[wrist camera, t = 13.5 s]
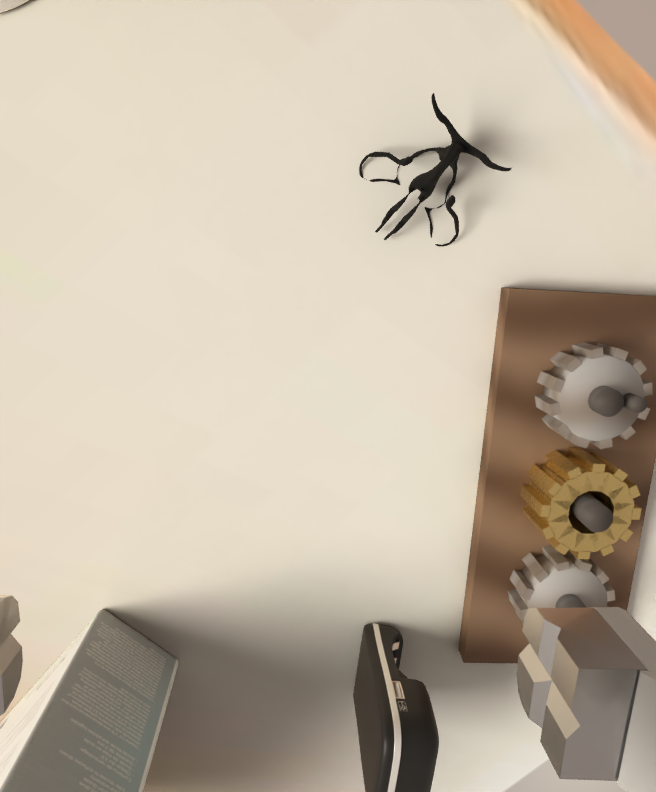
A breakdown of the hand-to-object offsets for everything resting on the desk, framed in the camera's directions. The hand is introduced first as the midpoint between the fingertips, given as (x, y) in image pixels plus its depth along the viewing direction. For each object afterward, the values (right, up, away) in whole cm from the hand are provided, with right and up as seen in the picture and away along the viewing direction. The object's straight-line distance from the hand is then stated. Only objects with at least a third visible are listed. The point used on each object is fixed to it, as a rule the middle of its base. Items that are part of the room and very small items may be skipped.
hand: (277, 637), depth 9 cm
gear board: (+18, -3, +34) cm, 38 cm away
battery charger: (+5, -17, +36) cm, 40 cm away
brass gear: (+18, -3, +32) cm, 37 cm away
